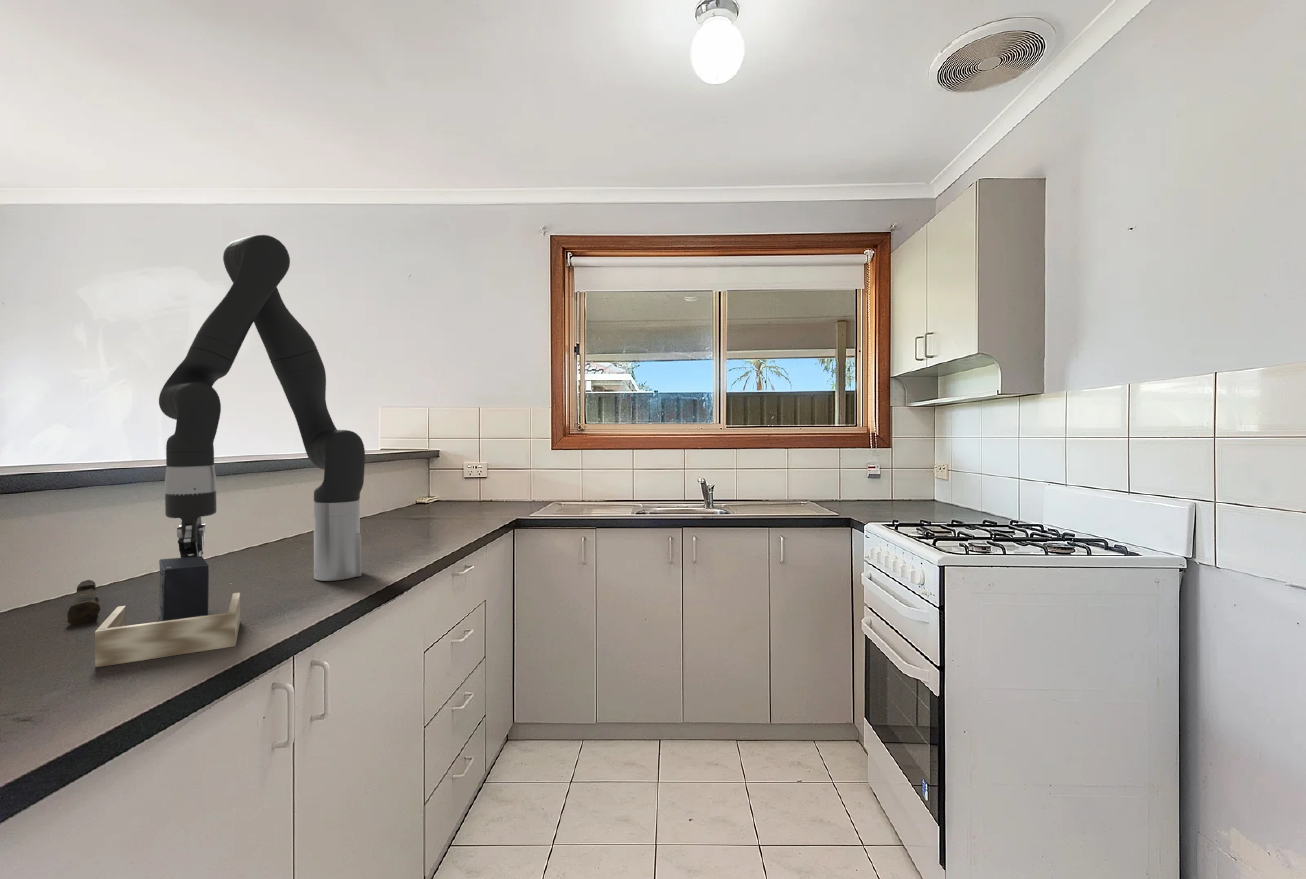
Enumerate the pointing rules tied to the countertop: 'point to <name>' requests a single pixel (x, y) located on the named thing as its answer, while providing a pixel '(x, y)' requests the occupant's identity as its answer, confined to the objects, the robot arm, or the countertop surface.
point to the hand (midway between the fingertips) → (192, 582)
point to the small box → (183, 588)
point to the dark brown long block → (84, 604)
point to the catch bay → (164, 636)
